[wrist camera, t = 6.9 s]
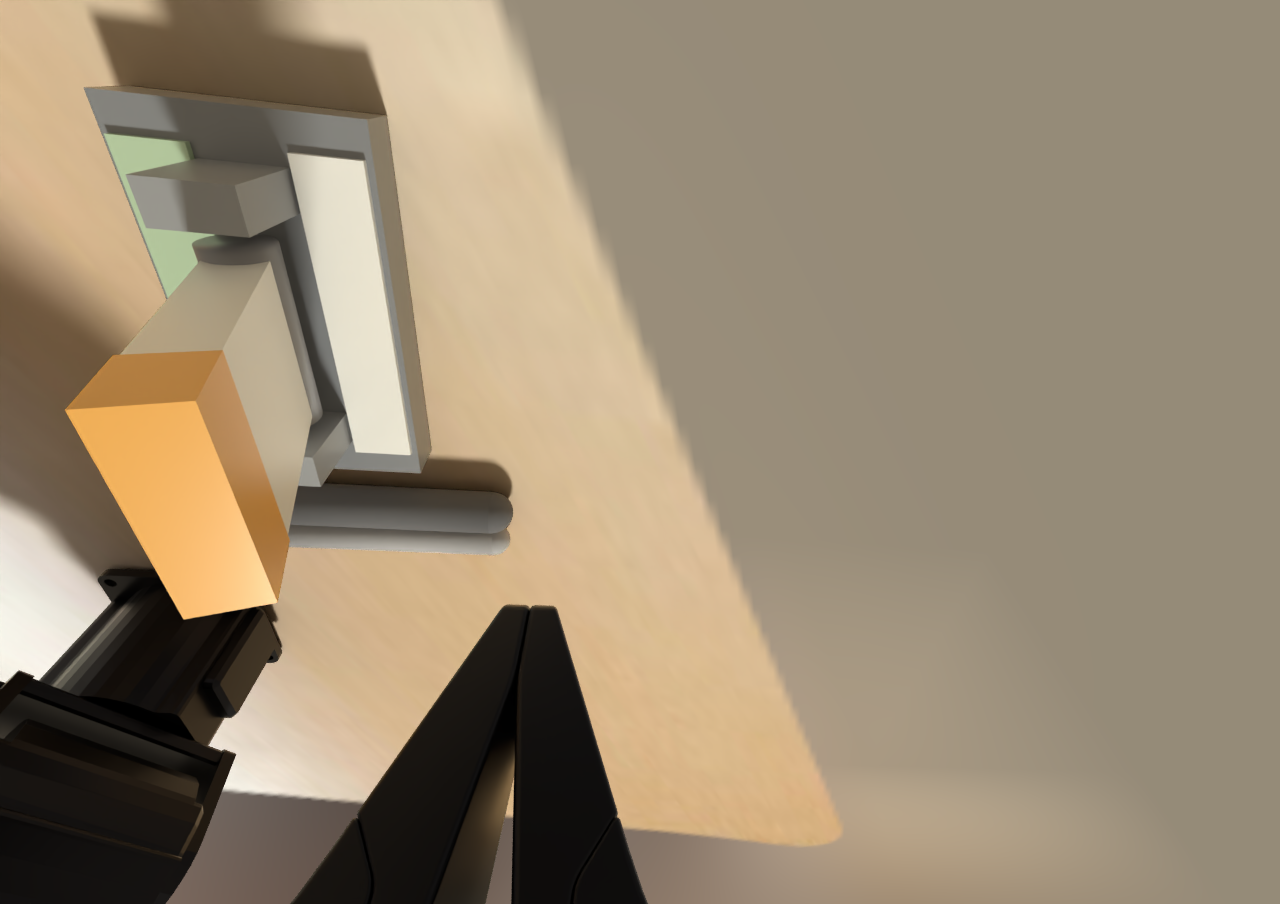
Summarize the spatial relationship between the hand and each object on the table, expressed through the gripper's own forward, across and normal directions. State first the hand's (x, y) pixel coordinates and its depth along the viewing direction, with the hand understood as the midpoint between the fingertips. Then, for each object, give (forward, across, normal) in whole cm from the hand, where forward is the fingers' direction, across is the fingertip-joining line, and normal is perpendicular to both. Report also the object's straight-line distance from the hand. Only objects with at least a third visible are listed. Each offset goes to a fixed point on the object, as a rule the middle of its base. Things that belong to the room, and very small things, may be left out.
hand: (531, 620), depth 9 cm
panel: (+13, +9, 0) cm, 16 cm away
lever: (+10, +9, 0) cm, 14 cm away
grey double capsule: (+13, +8, +10) cm, 19 cm away
